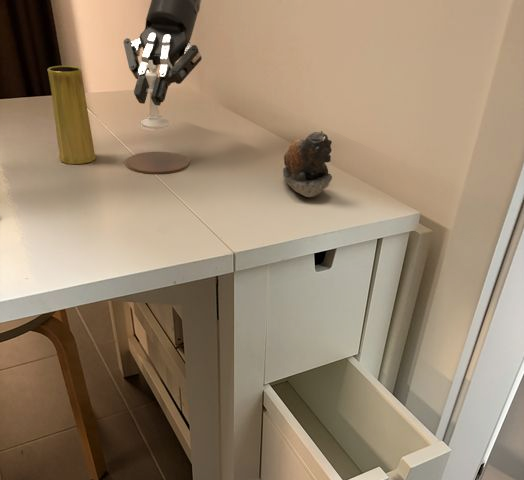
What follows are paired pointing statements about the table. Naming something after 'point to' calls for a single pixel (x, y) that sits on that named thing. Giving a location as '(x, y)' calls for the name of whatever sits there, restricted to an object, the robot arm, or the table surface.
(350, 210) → the table surface
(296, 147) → the bison figurine
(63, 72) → the vase
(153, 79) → the chess piece
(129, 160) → the coaster
